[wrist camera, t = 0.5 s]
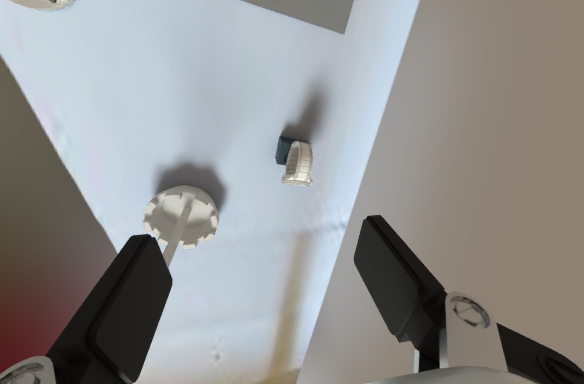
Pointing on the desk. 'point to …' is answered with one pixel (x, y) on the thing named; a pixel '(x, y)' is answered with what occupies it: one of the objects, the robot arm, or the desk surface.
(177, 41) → the desk surface
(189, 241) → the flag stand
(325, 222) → the desk surface
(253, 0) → the mat
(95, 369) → the robot arm
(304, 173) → the watch
